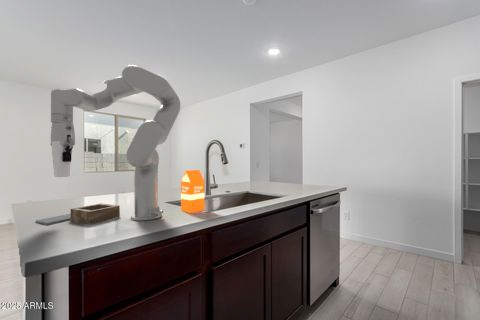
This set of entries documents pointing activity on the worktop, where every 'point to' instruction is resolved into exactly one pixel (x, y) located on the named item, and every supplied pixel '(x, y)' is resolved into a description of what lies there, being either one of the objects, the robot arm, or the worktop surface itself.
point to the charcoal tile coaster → (54, 219)
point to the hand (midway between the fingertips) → (62, 161)
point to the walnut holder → (95, 213)
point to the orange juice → (192, 191)
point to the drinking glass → (59, 160)
